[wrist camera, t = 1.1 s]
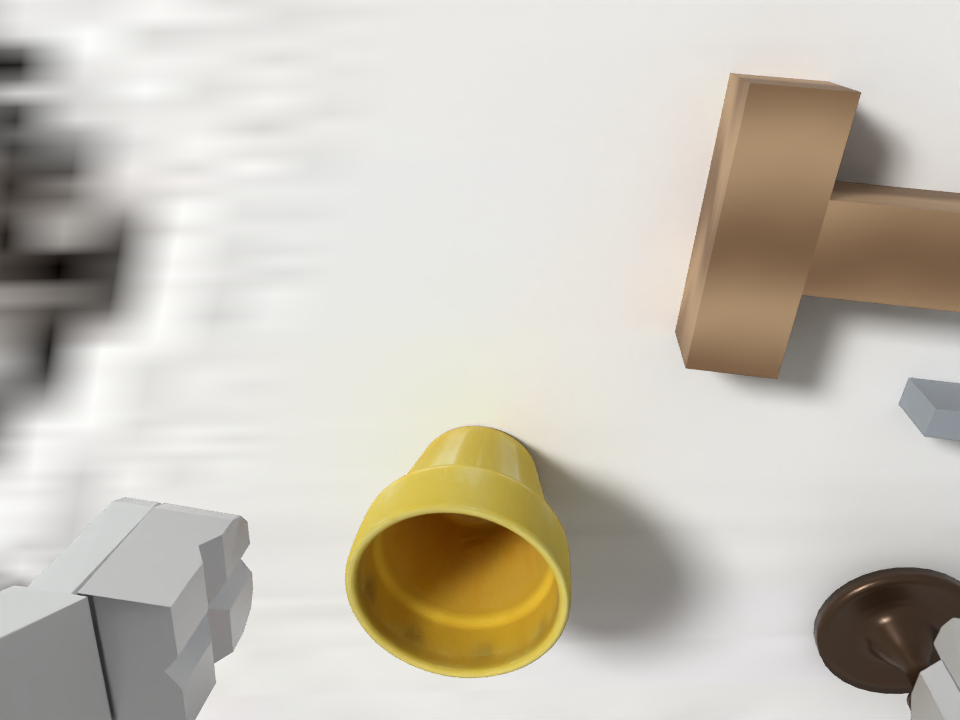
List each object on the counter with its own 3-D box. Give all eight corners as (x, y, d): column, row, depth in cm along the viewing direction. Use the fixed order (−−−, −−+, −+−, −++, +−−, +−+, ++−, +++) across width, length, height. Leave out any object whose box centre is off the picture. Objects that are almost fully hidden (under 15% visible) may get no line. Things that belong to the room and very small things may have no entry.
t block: (730, 73, 30) (750, 82, 27) (1029, 98, 29) (1091, 112, 26) (675, 331, 36) (685, 368, 32) (926, 360, 35) (965, 401, 31)
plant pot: (606, 442, 39) (614, 568, 30) (524, 569, 44) (510, 710, 35) (432, 363, 38) (388, 470, 29) (367, 501, 43) (313, 628, 34)
